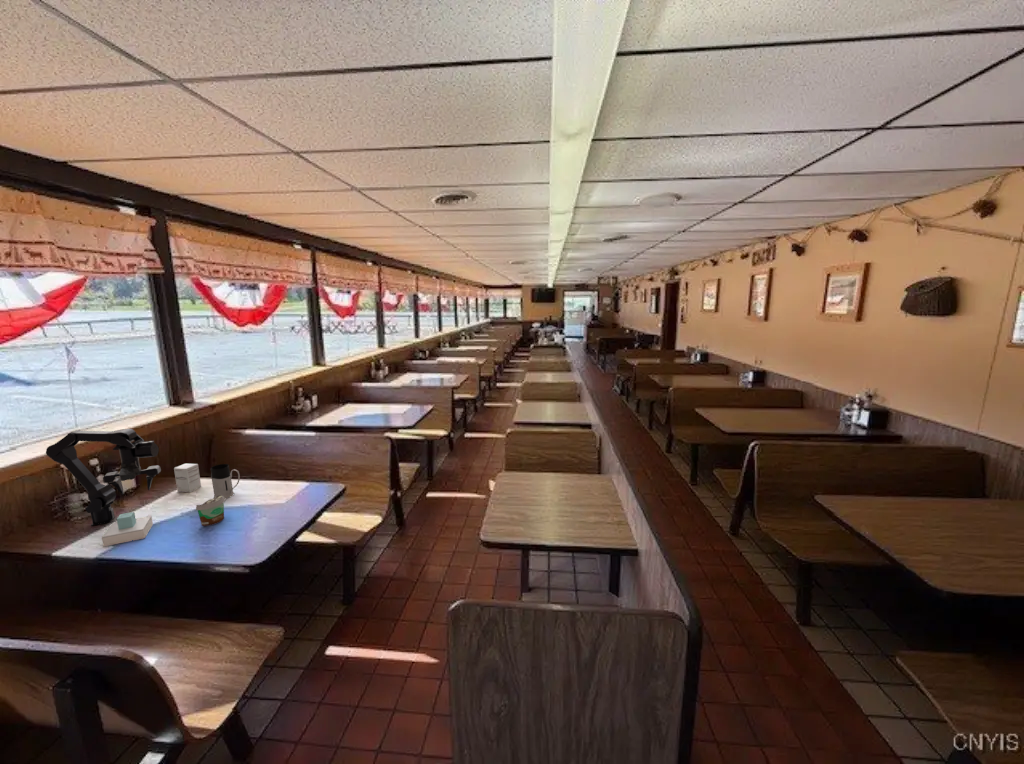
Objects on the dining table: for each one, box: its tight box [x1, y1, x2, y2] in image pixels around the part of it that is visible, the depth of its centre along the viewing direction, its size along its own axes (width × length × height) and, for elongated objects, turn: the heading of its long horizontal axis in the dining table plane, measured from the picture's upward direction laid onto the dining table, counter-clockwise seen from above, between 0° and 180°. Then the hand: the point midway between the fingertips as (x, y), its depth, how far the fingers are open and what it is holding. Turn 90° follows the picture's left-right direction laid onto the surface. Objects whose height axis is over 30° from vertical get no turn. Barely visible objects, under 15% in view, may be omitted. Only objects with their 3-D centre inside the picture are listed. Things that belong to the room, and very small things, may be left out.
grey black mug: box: [210, 463, 241, 499], centre depth 221 cm, size 9×14×15 cm, turn 82°
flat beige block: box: [101, 515, 154, 547], centre depth 187 cm, size 13×13×4 cm
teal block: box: [116, 511, 137, 530], centre depth 186 cm, size 5×5×5 cm
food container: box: [195, 494, 226, 527], centre depth 196 cm, size 12×6×10 cm, turn 168°
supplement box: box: [173, 463, 202, 493], centre depth 231 cm, size 7×7×13 cm
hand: (136, 492), depth 200 cm, fingers open, 9 cm apart
